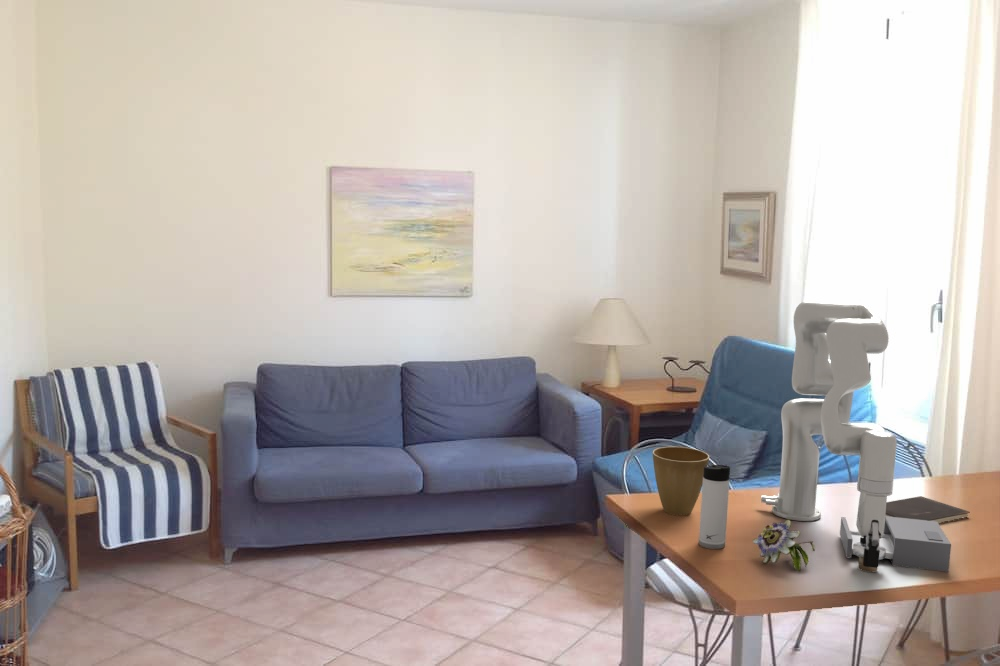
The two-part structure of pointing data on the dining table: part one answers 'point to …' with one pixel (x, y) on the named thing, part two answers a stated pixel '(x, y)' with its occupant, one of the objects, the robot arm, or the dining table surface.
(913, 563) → the housing
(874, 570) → the stand
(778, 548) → the passion flower
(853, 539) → the tray
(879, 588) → the dining table surface
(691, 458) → the plant pot
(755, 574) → the dining table surface
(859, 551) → the disc
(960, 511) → the hardcover book
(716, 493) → the travel mug
